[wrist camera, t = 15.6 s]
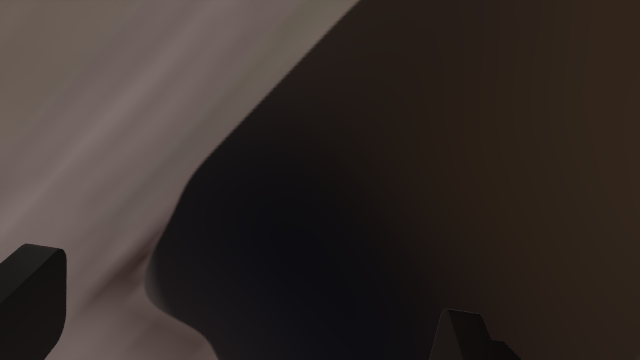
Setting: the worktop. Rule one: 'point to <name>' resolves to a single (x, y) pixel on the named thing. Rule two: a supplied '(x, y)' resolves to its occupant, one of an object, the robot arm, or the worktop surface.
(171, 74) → the worktop surface
